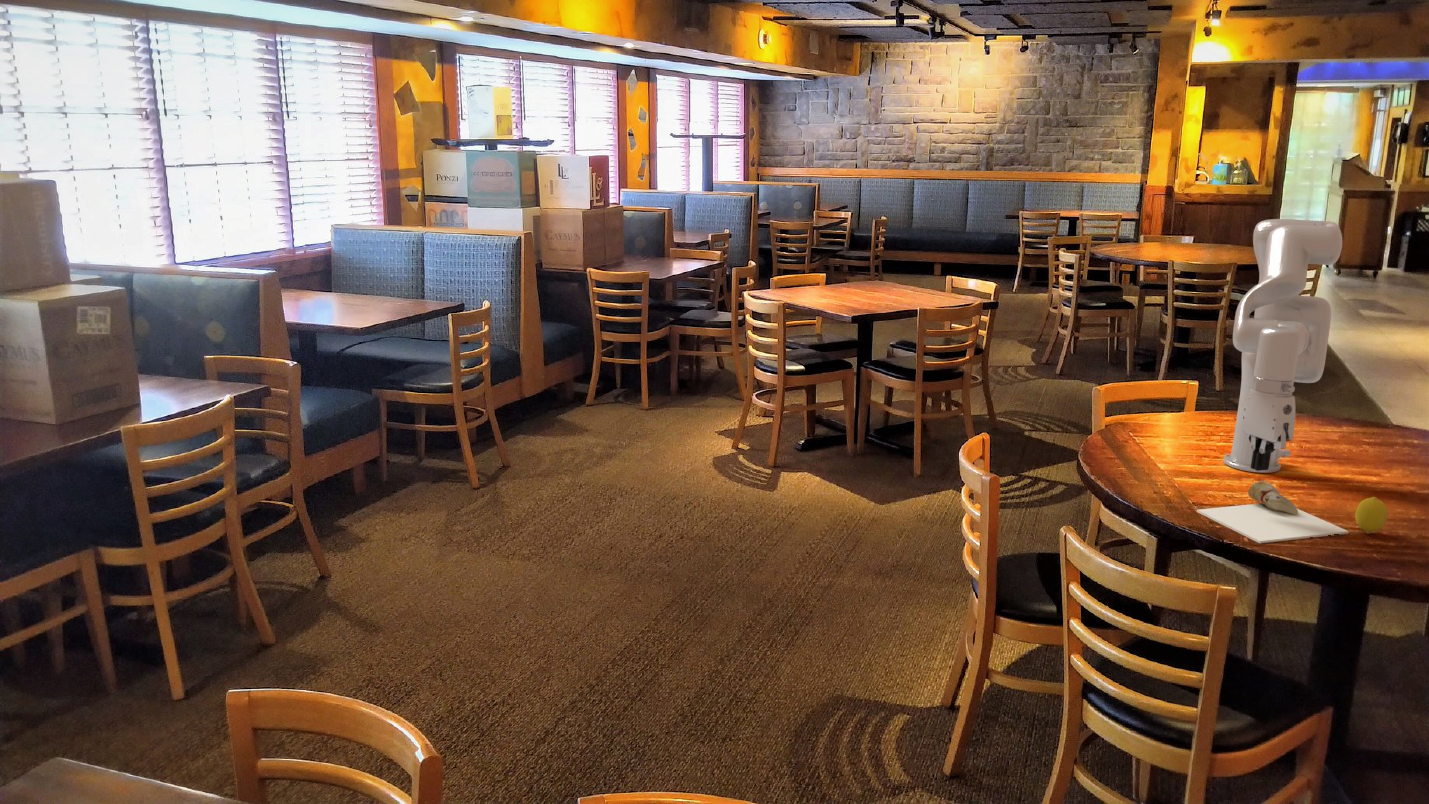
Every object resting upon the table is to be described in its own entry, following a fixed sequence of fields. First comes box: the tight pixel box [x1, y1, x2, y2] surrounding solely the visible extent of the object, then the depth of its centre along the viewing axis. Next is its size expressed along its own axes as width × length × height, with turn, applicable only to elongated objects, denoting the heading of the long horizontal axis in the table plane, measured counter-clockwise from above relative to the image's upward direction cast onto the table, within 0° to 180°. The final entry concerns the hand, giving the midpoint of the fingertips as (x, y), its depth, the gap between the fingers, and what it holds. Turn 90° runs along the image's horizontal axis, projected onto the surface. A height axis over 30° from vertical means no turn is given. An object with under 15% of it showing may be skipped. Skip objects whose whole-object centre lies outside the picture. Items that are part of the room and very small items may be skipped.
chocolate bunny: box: [1247, 480, 1298, 514], centre depth 224 cm, size 6×8×10 cm
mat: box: [1196, 502, 1349, 544], centre depth 217 cm, size 22×18×1 cm
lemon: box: [1354, 496, 1389, 535], centre depth 211 cm, size 6×6×8 cm
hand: (1259, 468), depth 220 cm, fingers closed
